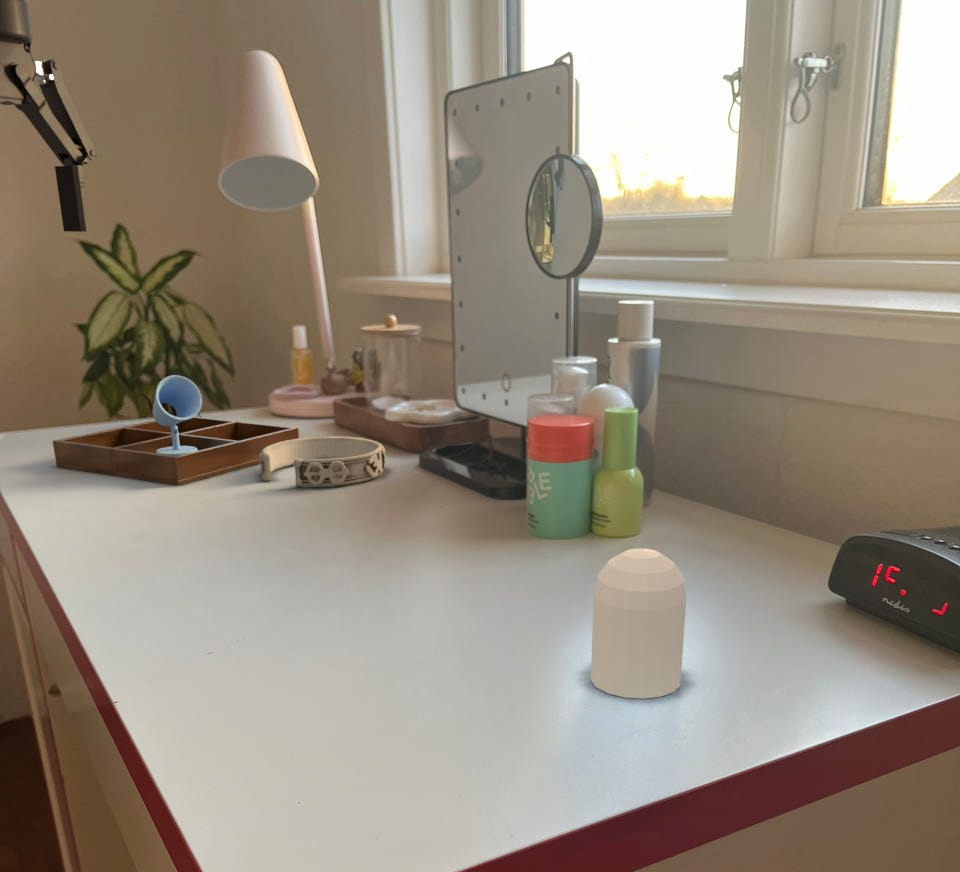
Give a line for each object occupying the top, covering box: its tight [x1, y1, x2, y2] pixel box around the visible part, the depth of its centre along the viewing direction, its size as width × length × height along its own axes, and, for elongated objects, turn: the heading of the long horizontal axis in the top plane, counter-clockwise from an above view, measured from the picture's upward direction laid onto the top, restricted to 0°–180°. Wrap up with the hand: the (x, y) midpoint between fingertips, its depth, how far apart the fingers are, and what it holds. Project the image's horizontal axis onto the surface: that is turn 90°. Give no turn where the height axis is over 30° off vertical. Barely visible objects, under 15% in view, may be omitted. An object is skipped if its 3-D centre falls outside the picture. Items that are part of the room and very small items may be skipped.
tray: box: [52, 416, 300, 486], centre depth 121 cm, size 20×20×3 cm
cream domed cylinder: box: [590, 548, 687, 700], centre depth 59 cm, size 5×5×8 cm
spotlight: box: [151, 374, 203, 456], centre depth 113 cm, size 5×10×7 cm
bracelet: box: [259, 435, 387, 488], centre depth 113 cm, size 14×14×3 cm
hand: (22, 232), depth 107 cm, fingers open, 13 cm apart
